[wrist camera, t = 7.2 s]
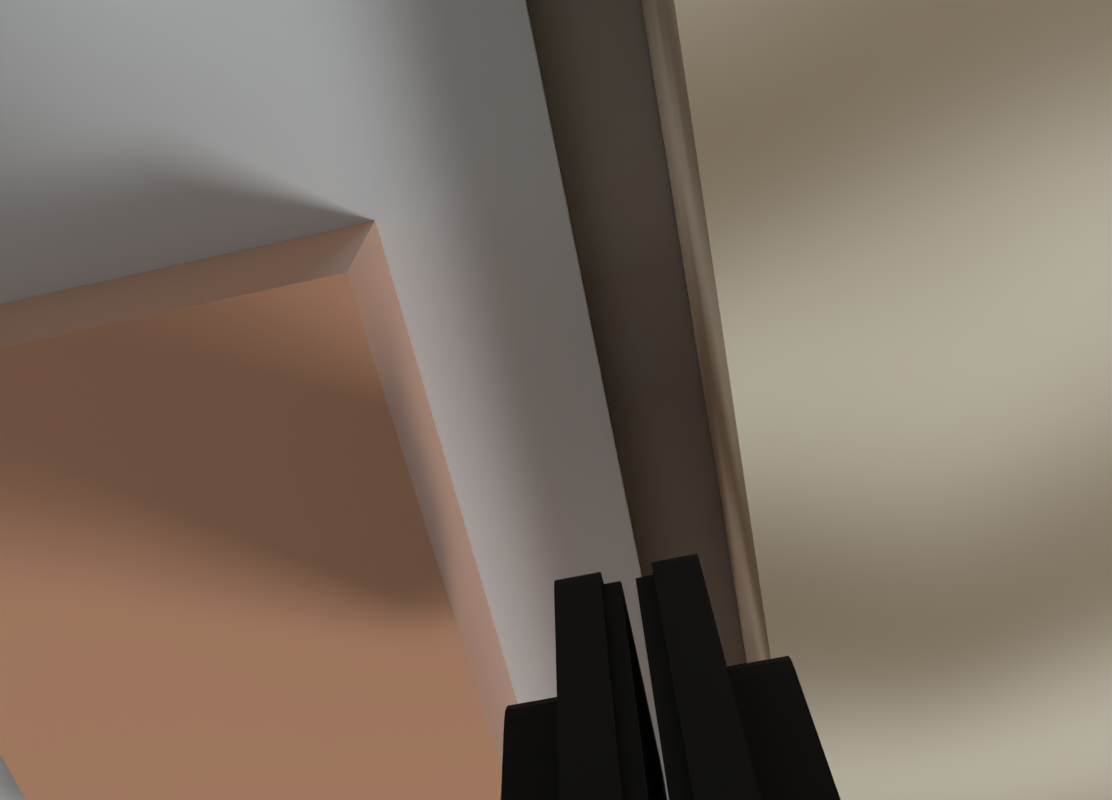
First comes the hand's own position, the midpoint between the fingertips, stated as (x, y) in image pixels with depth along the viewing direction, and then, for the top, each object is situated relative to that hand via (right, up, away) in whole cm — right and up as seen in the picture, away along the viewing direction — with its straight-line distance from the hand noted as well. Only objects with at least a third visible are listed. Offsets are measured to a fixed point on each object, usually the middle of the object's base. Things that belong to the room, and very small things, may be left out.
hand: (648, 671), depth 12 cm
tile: (-6, 0, +4) cm, 7 cm away
